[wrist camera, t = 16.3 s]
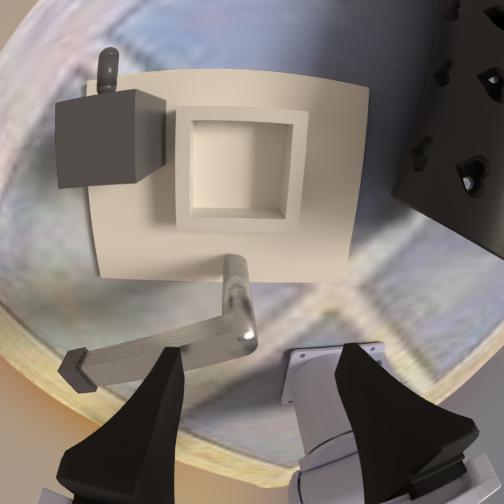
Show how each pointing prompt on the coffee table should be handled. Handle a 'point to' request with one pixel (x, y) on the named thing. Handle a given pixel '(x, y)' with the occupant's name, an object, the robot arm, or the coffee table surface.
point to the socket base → (239, 179)
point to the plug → (109, 133)
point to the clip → (174, 341)
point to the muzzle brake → (461, 127)
